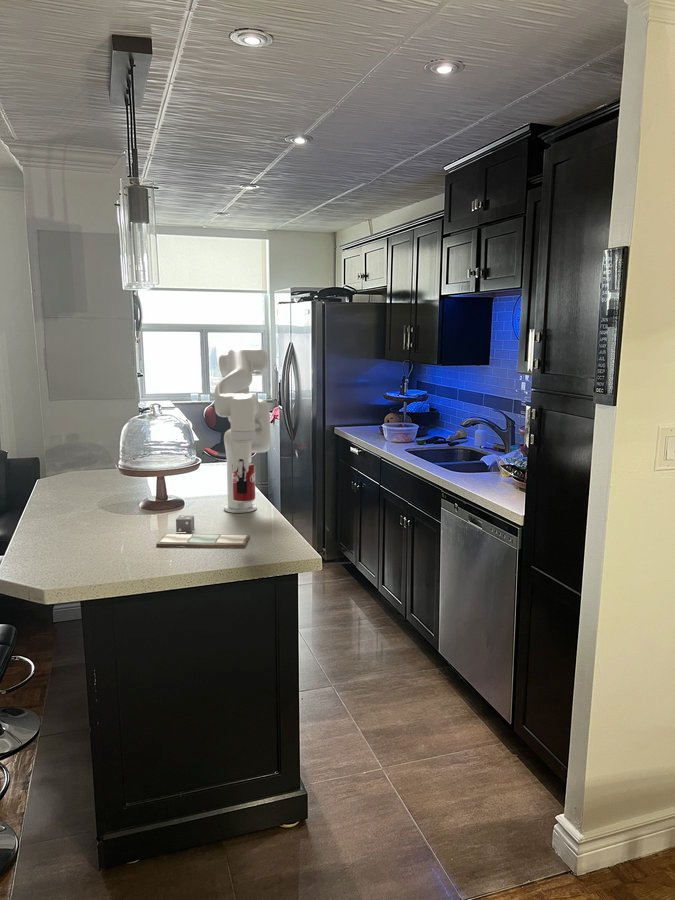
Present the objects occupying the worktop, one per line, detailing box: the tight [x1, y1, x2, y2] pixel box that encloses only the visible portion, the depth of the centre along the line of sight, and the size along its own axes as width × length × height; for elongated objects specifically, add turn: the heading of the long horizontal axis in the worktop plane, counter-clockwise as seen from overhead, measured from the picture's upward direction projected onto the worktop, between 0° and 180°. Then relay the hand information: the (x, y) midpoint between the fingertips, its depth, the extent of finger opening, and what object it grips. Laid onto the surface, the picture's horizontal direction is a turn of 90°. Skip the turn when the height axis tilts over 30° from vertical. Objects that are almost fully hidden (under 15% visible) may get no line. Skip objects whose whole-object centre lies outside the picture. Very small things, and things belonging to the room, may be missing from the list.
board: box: [155, 533, 251, 549], centre depth 217 cm, size 11×28×1 cm, turn 89°
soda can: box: [232, 461, 256, 503], centre depth 214 cm, size 7×7×12 cm
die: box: [175, 514, 195, 534], centre depth 229 cm, size 5×5×5 cm
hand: (243, 489), depth 214 cm, fingers closed on soda can, 7 cm apart
